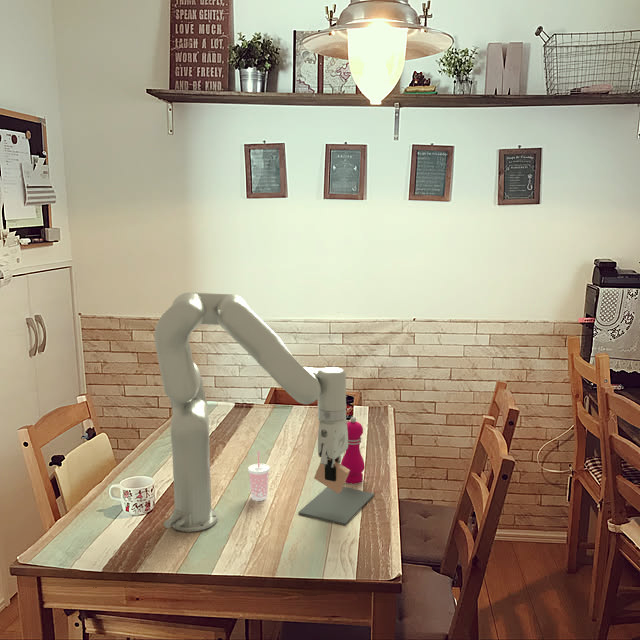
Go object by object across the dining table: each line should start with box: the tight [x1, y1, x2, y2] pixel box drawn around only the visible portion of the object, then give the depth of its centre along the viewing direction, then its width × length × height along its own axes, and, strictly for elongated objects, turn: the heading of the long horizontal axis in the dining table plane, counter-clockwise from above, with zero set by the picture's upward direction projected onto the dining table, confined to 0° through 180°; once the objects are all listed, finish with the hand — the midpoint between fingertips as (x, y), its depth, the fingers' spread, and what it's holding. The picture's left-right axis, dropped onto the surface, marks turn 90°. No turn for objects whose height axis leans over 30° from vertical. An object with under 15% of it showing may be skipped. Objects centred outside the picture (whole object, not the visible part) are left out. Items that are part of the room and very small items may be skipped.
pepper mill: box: [340, 416, 365, 485], centre depth 200 cm, size 7×7×20 cm
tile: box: [313, 459, 350, 494], centre depth 180 cm, size 2×8×7 cm, turn 63°
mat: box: [298, 486, 375, 526], centre depth 185 cm, size 20×14×1 cm
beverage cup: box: [247, 450, 270, 502], centre depth 188 cm, size 6×6×14 cm
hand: (332, 478), depth 180 cm, fingers closed on tile, 1 cm apart
